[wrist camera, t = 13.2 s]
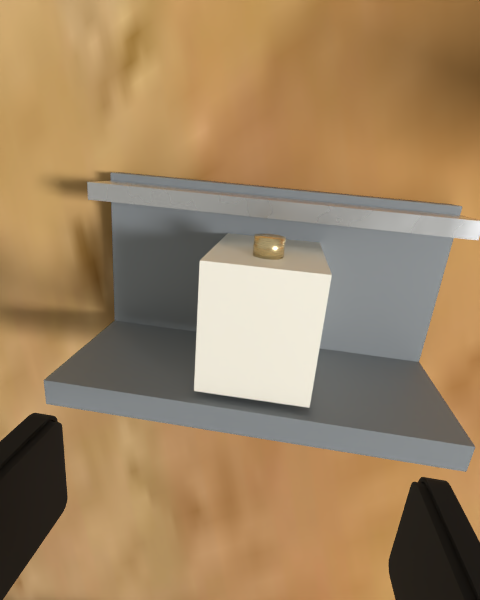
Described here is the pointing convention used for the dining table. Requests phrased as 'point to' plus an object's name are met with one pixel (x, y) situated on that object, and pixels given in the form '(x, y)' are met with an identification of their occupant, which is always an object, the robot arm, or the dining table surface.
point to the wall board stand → (336, 330)
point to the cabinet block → (261, 318)
